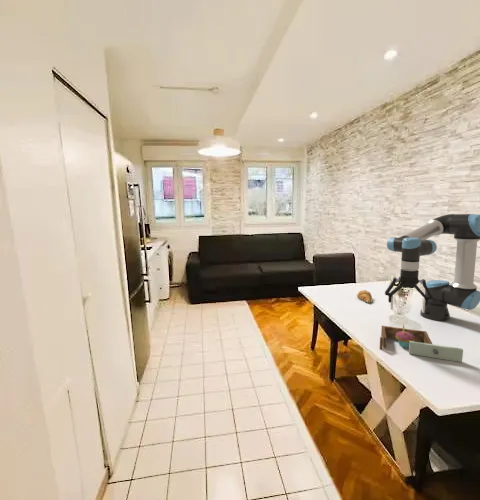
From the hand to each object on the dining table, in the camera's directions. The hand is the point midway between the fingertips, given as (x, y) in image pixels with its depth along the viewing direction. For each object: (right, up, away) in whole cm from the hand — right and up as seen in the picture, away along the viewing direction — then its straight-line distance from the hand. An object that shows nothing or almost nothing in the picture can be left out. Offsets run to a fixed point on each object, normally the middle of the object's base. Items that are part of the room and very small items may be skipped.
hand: (406, 310), depth 135 cm
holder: (-1, -19, +2) cm, 19 cm away
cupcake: (0, -19, +2) cm, 19 cm away
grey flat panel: (+7, -20, -10) cm, 23 cm away
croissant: (+11, -8, +70) cm, 72 cm away
